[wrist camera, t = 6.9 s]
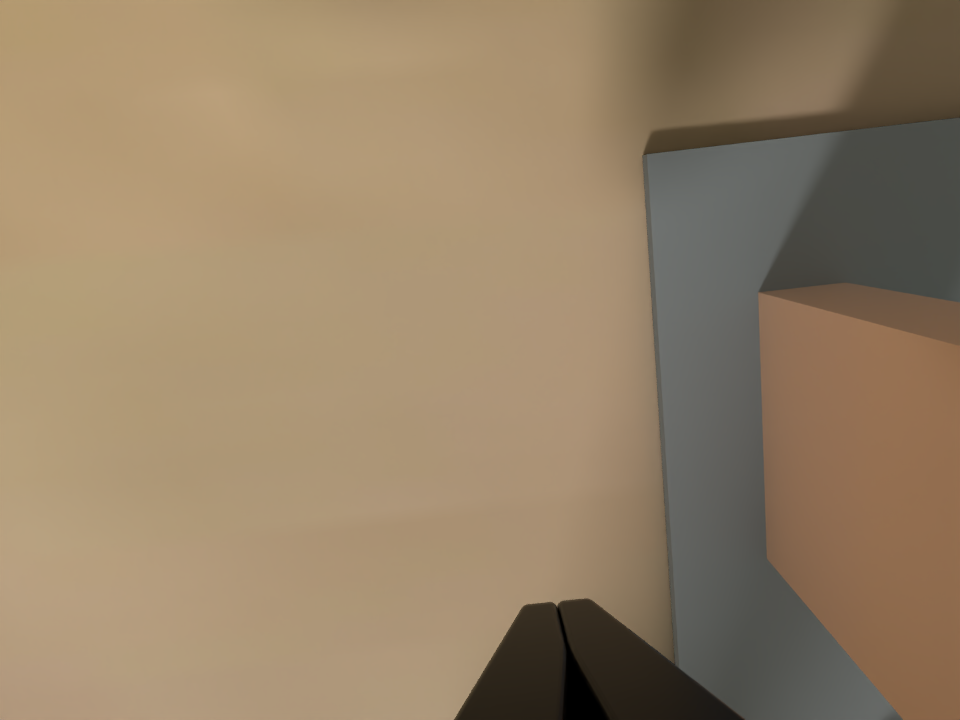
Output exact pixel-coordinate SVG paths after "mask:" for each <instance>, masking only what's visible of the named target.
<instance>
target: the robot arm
mask: <svg viewBox="0 0 960 720" xmlns="http://www.w3.org/2000/svg"><path fill="white" fill-rule="evenodd" d="M454 720H746V719H744V718H743V717H742V716H740V715H739V714H738V713H737V712H735V711H734V710H733V709H731V708H730V707H729V706H727V705H726V704H725V703H724V702H722V701H721V700H720V699H718V698H717V697H716V696H715V695H713V694H712V693H711V692H709V691H708V690H707V689H706V688H704V687H703V686H702V685H700V684H699V683H698V682H697V681H695V680H694V679H693V678H691V677H690V676H689V675H688V674H686V673H685V672H684V671H682V670H681V669H680V668H679V667H677V666H676V665H675V664H673V663H672V662H671V661H670V660H668V659H667V658H666V657H664V656H663V655H662V654H660V653H659V652H658V651H657V650H655V649H654V648H653V647H651V646H650V645H649V644H648V643H646V642H645V641H644V640H642V639H641V638H640V637H639V636H637V635H636V634H635V633H633V632H632V631H631V630H630V629H628V628H627V627H626V626H624V625H623V624H622V623H621V622H619V621H618V620H617V619H615V618H614V617H613V616H612V615H610V614H609V613H608V612H606V611H605V610H604V609H603V608H601V607H600V606H599V605H597V604H596V603H595V602H594V601H592V600H590V599H587V598H585V599H575V600H566V601H561V602H560V603H559V604H558V606H556V605H555V604H554V603H552V602H547V603H537V604H528V605H525V606H523V607H522V609H521V610H520V612H519V614H518V615H517V617H516V619H515V620H514V622H513V624H512V625H511V627H510V628H509V630H508V632H507V633H506V635H505V637H504V638H503V640H502V642H501V643H500V645H499V647H498V648H497V650H496V652H495V653H494V655H493V657H492V658H491V660H490V661H489V663H488V665H487V666H486V668H485V670H484V671H483V673H482V675H481V676H480V678H479V680H478V681H477V683H476V685H475V686H474V688H473V689H472V691H471V693H470V694H469V696H468V698H467V699H466V701H465V703H464V704H463V706H462V708H461V709H460V711H459V713H458V714H457V716H456V717H455V719H454Z"/></svg>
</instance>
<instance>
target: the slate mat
mask: <svg viewBox="0 0 960 720" xmlns="http://www.w3.org/2000/svg"><path fill="white" fill-rule="evenodd" d="M643 172H644V188H645V203H646V219H647V235H648V250H649V266H650V282H651V297H652V313H653V329H654V344H655V360H656V376H657V391H658V407H659V422H660V438H661V454H662V469H663V485H664V501H665V516H666V532H667V548H668V563H669V579H670V595H671V610H672V626H673V642H674V657H675V665H676V666H677V667H679V668H680V669H681V670H682V671H684V672H685V673H686V674H688V675H689V676H690V677H691V678H693V679H694V680H695V681H697V682H698V683H699V684H700V685H702V686H703V687H704V688H706V689H707V690H708V691H709V692H711V693H712V694H713V695H715V696H716V697H717V698H718V699H720V700H721V701H722V702H724V703H725V704H726V705H727V706H729V707H730V708H731V709H733V710H734V711H735V712H737V713H738V714H739V715H740V716H742V717H743V718H744V719H746V720H903V719H902V718H901V716H900V715H899V714H898V713H897V712H896V711H895V709H894V708H893V707H892V706H891V705H890V703H889V702H888V701H887V700H886V699H885V698H884V696H883V695H882V694H881V693H880V692H879V690H878V689H877V688H876V687H875V686H874V685H873V683H872V682H871V681H870V680H869V679H868V677H867V676H866V675H865V674H864V673H863V672H862V670H861V669H860V668H859V667H858V666H857V664H856V663H855V662H854V661H853V660H852V659H851V657H850V656H849V655H848V654H847V653H846V651H845V650H844V649H843V648H842V647H841V646H840V644H839V643H838V642H837V641H836V640H835V638H834V637H833V636H832V635H831V634H830V633H829V631H828V630H827V629H826V628H825V627H824V625H823V624H822V623H821V622H820V621H819V620H818V618H817V617H816V616H815V615H814V614H813V612H812V611H811V610H810V609H809V608H808V607H807V605H806V604H805V603H804V602H803V601H802V600H801V598H800V597H799V596H798V595H797V594H796V592H795V591H794V590H793V589H792V588H791V587H790V585H789V584H788V583H787V582H786V581H785V579H784V578H783V577H782V576H781V575H780V574H779V572H778V571H777V570H776V569H775V568H774V566H773V565H772V564H771V563H770V562H769V561H768V559H767V548H766V517H765V487H764V456H763V425H762V395H761V364H760V334H759V303H758V292H766V291H775V290H784V289H792V288H801V287H810V286H819V285H828V284H837V283H852V284H857V285H863V286H869V287H874V288H880V289H886V290H891V291H897V292H903V293H909V294H914V295H920V296H926V297H931V298H937V299H943V300H948V301H954V302H960V118H951V119H943V120H934V121H925V122H917V123H908V124H900V125H891V126H883V127H874V128H866V129H857V130H849V131H840V132H832V133H823V134H815V135H806V136H798V137H789V138H781V139H772V140H764V141H755V142H747V143H738V144H730V145H721V146H713V147H704V148H696V149H687V150H679V151H670V152H661V153H653V154H646V155H644V156H643Z"/></svg>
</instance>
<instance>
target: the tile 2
mask: <svg viewBox="0 0 960 720" xmlns="http://www.w3.org/2000/svg"><path fill="white" fill-rule="evenodd" d="M758 303H759V334H760V364H761V395H762V425H763V456H764V487H765V517H766V548H767V559H768V561H769V562H770V563H771V564H772V565H773V566H774V568H775V569H776V570H777V571H778V572H779V574H780V575H781V576H782V577H783V578H784V579H785V581H786V582H787V583H788V584H789V585H790V587H791V588H792V589H793V590H794V591H795V592H796V594H797V595H798V596H799V597H800V598H801V600H802V601H803V602H804V603H805V604H806V605H807V607H808V608H809V609H810V610H811V611H812V612H813V614H814V615H815V616H816V617H817V618H818V620H819V621H820V622H821V623H822V624H823V625H824V627H825V628H826V629H827V630H828V631H829V633H830V634H831V635H832V636H833V637H834V638H835V640H836V641H837V642H838V643H839V644H840V646H841V647H842V648H843V649H844V650H845V651H846V653H847V654H848V655H849V656H850V657H851V659H852V660H853V661H854V662H855V663H856V664H857V666H858V667H859V668H860V669H861V670H862V672H863V673H864V674H865V675H866V676H867V677H868V679H869V680H870V681H871V682H872V683H873V685H874V686H875V687H876V688H877V689H878V690H879V692H880V693H881V694H882V695H883V696H884V698H885V699H886V700H887V701H888V702H889V703H890V705H891V706H892V707H893V708H894V709H895V711H896V712H897V713H898V714H899V715H900V716H901V718H902V719H903V720H960V302H954V301H948V300H943V299H937V298H931V297H926V296H920V295H914V294H909V293H903V292H897V291H891V290H886V289H880V288H874V287H869V286H863V285H857V284H852V283H837V284H828V285H819V286H810V287H801V288H792V289H784V290H775V291H766V292H758Z"/></svg>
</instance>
